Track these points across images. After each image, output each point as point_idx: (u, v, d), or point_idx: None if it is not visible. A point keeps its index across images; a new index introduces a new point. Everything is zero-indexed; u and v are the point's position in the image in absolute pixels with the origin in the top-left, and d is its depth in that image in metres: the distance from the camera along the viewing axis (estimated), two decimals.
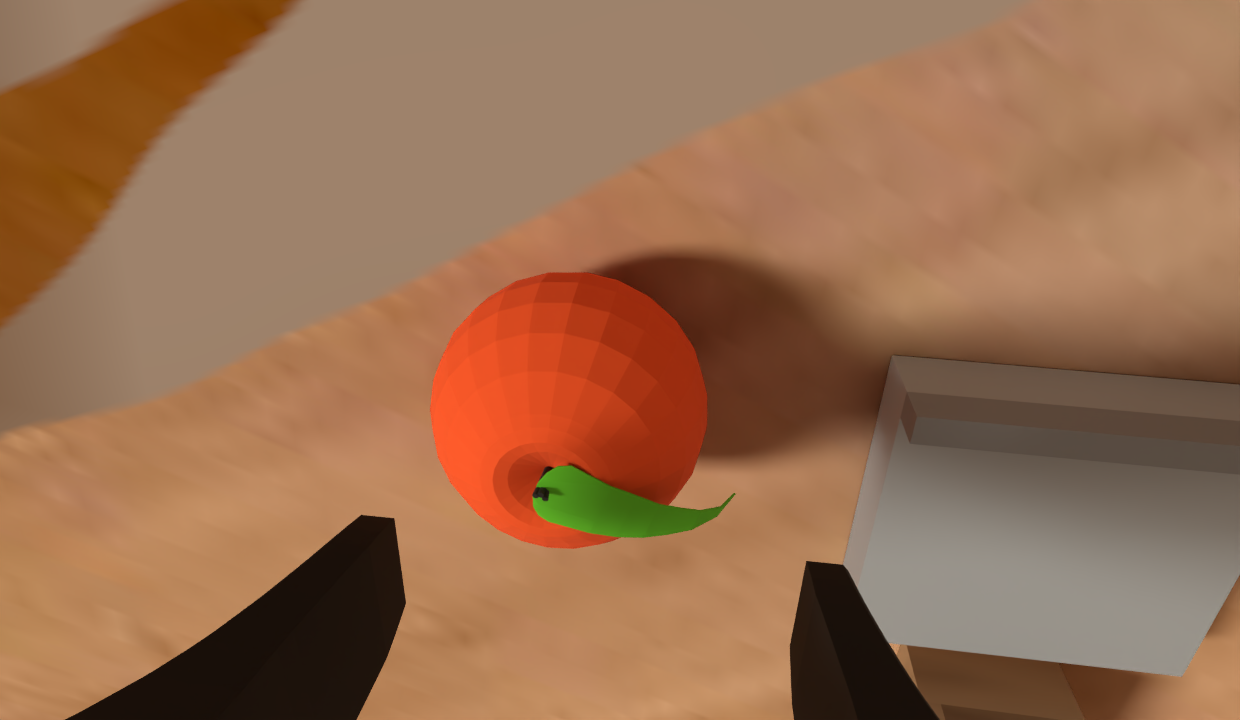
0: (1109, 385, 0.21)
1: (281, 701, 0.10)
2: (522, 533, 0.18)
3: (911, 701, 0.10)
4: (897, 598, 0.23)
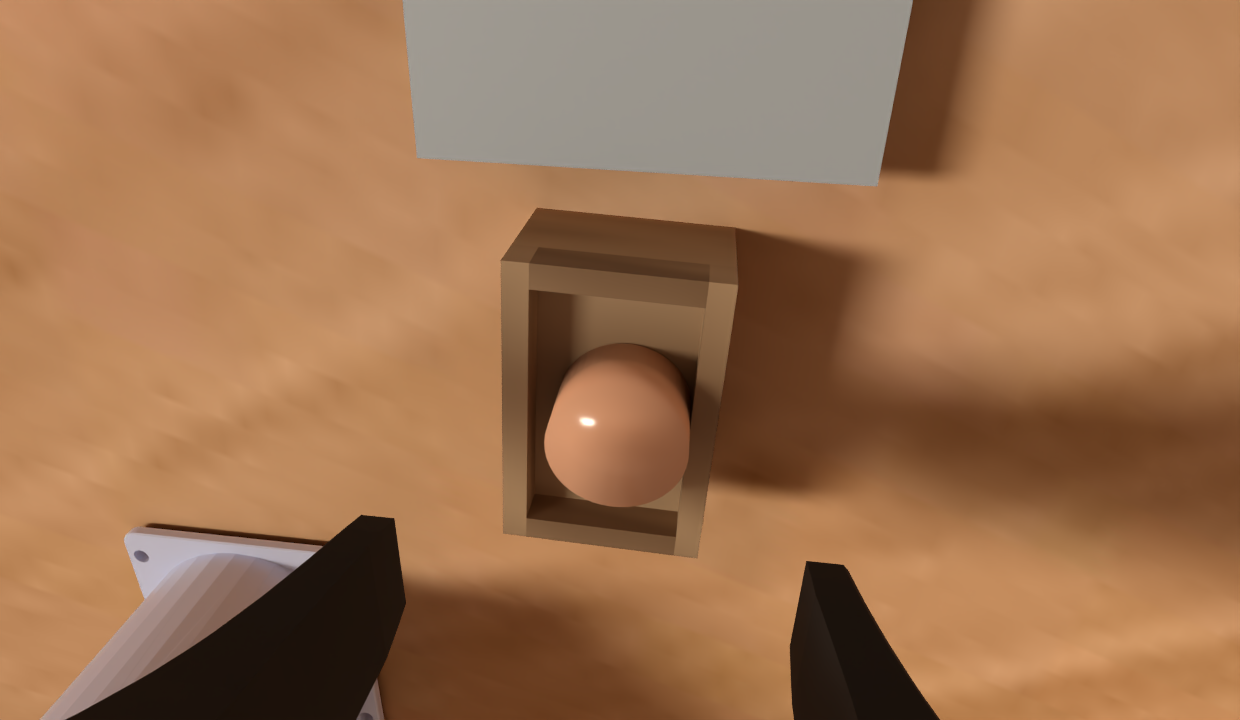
0: None
1: (281, 701, 0.10)
2: None
3: (911, 701, 0.10)
4: (464, 70, 0.16)
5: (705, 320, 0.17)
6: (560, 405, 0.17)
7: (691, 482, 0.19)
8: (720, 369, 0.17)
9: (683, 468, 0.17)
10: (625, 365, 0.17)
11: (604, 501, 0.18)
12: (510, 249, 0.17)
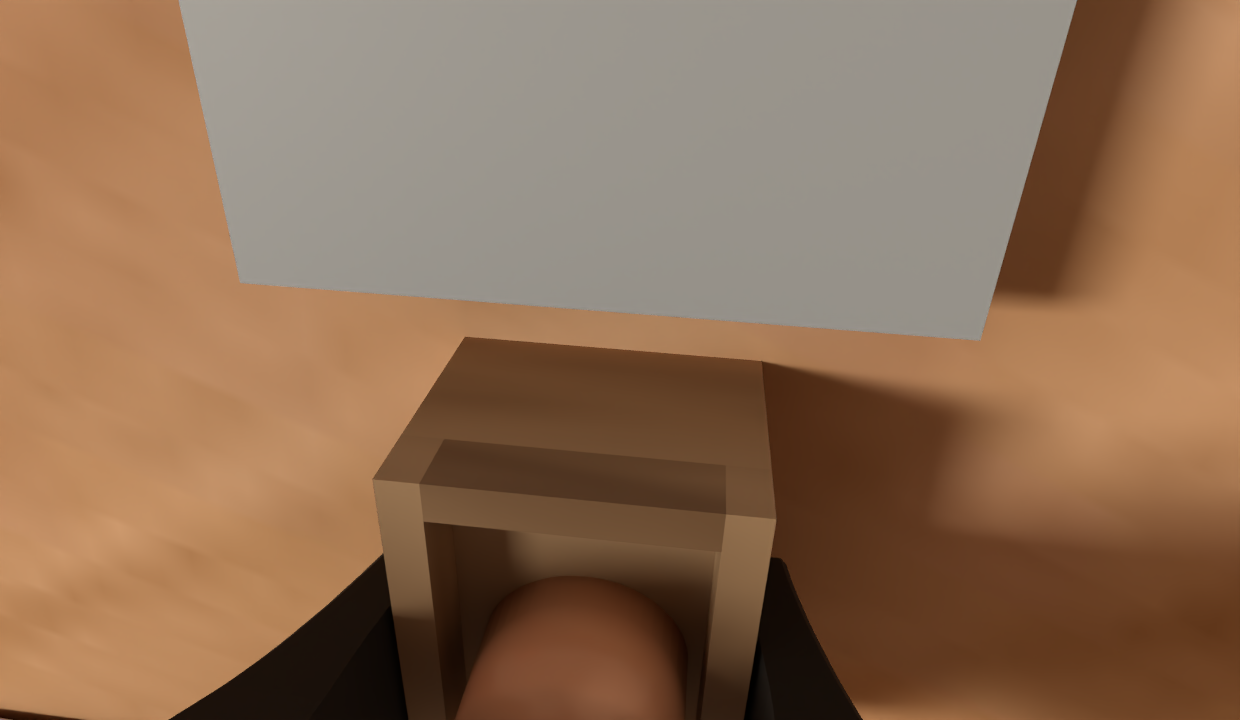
0: None
1: (354, 710, 0.10)
2: None
3: (829, 691, 0.10)
4: (300, 151, 0.10)
5: (721, 569, 0.10)
6: (469, 705, 0.10)
7: None
8: (748, 638, 0.10)
9: None
10: (578, 629, 0.11)
11: None
12: (395, 448, 0.10)
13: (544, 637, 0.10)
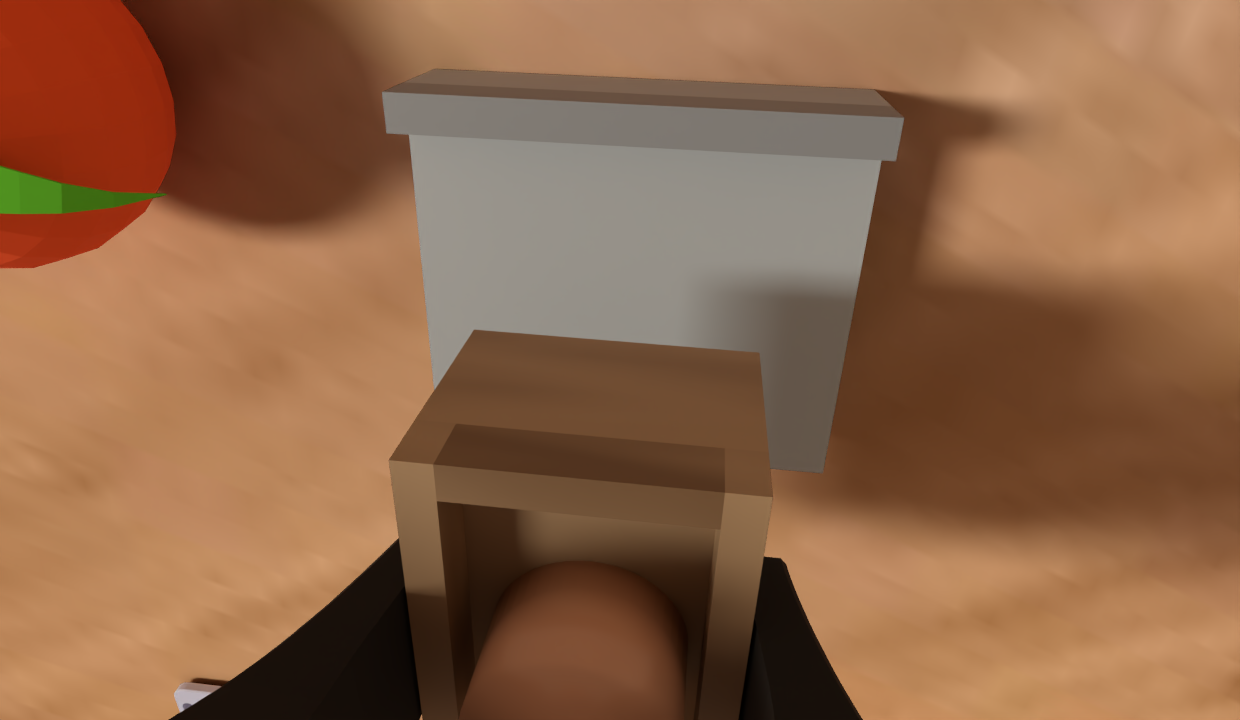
0: (669, 85, 0.17)
1: (354, 710, 0.10)
2: None
3: (829, 691, 0.10)
4: None
5: (720, 546, 0.10)
6: (479, 681, 0.11)
7: None
8: (746, 613, 0.11)
9: None
10: (583, 609, 0.11)
11: None
12: (410, 432, 0.11)
13: (550, 617, 0.11)
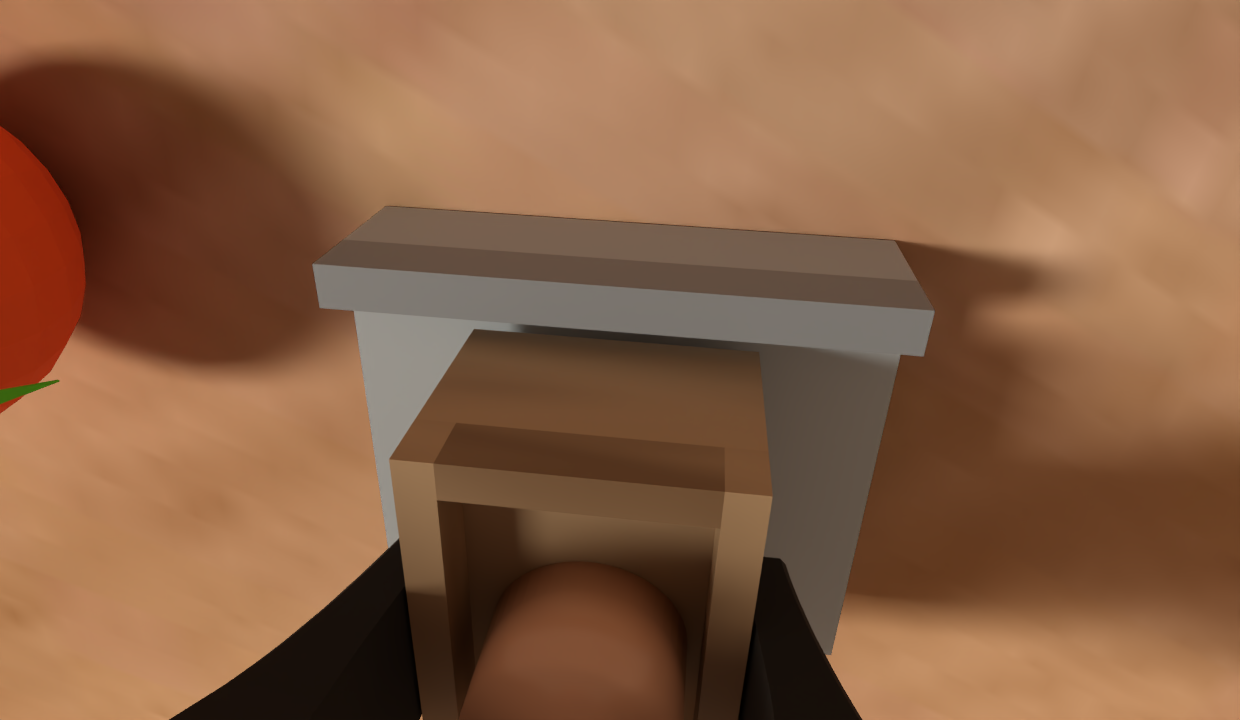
0: (656, 236, 0.15)
1: (354, 710, 0.10)
2: None
3: (828, 691, 0.10)
4: None
5: (720, 545, 0.10)
6: (479, 683, 0.11)
7: None
8: (746, 612, 0.11)
9: None
10: (582, 612, 0.11)
11: None
12: (410, 431, 0.11)
13: (550, 619, 0.11)
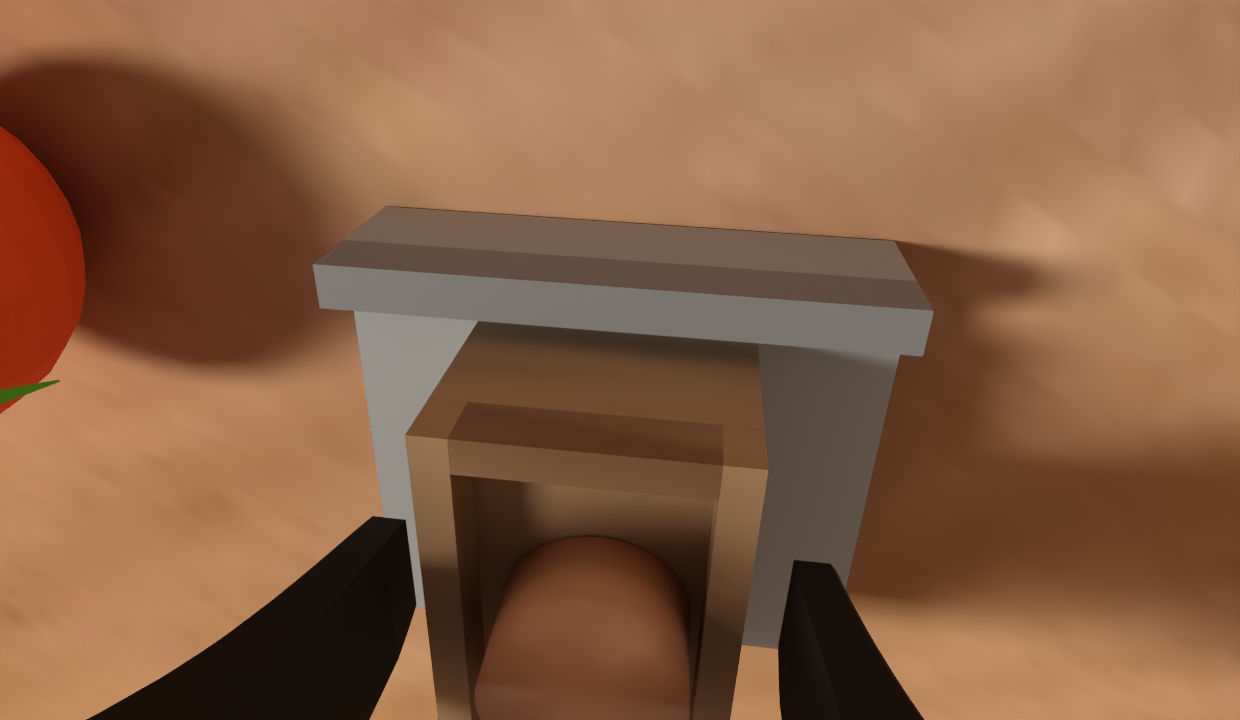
0: (656, 237, 0.15)
1: (296, 703, 0.10)
2: None
3: (894, 699, 0.10)
4: None
5: (718, 517, 0.11)
6: (496, 652, 0.11)
7: None
8: (743, 581, 0.11)
9: None
10: (594, 583, 0.12)
11: None
12: (424, 409, 0.11)
13: (563, 591, 0.12)
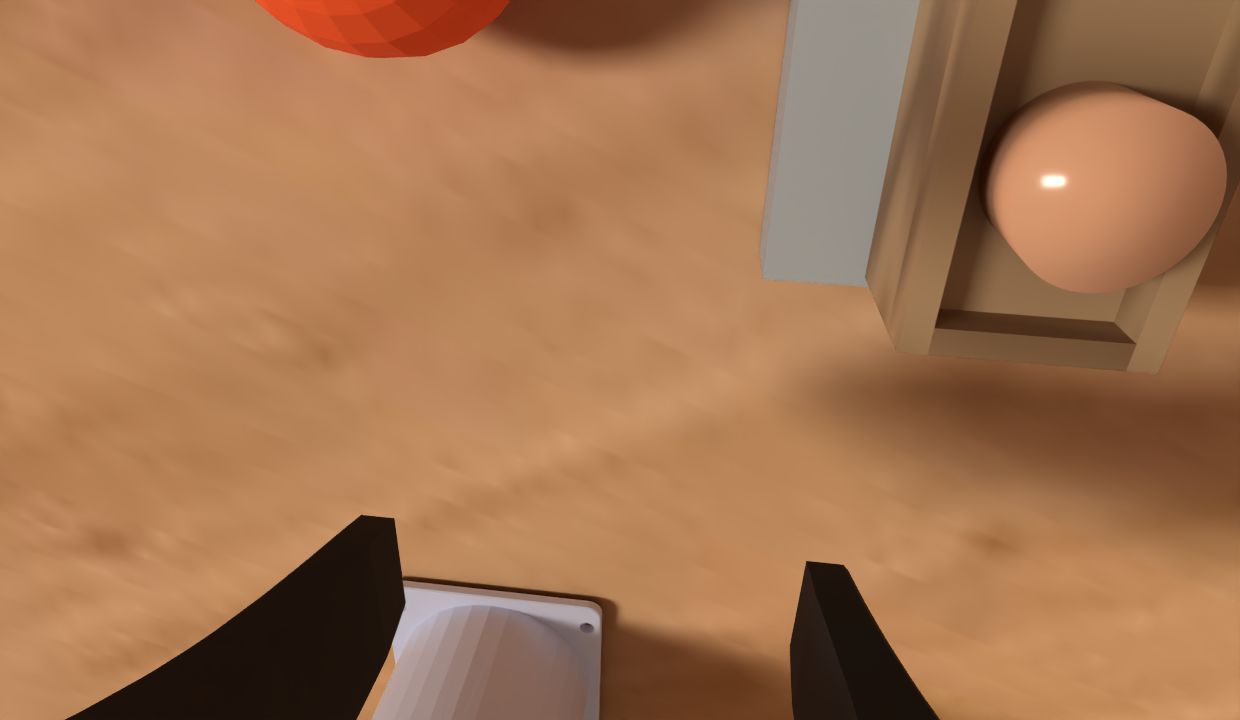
0: None
1: (281, 701, 0.10)
2: None
3: (911, 701, 0.10)
4: (823, 208, 0.18)
5: None
6: (1064, 130, 0.12)
7: (1181, 260, 0.14)
8: None
9: (1199, 238, 0.13)
10: (1137, 94, 0.13)
11: (1064, 284, 0.14)
12: None
13: (1113, 95, 0.13)
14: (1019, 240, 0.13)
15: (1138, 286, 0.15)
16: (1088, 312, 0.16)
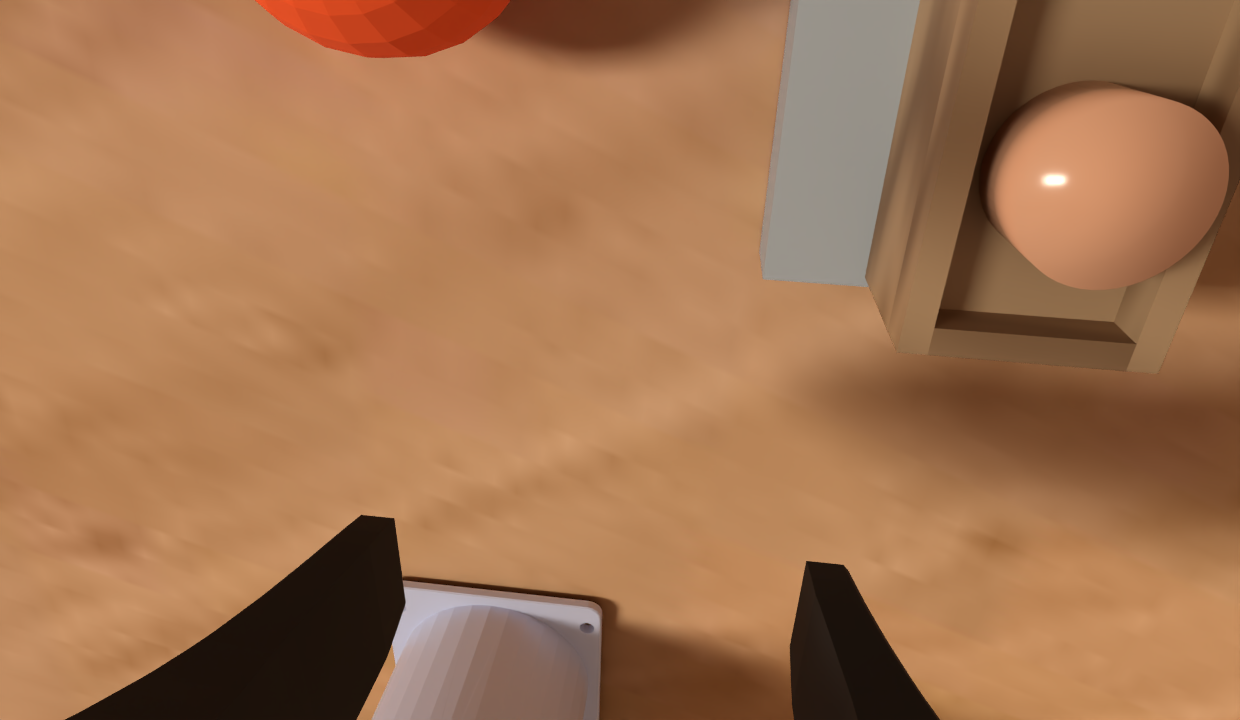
0: None
1: (281, 701, 0.10)
2: None
3: (911, 701, 0.10)
4: (823, 208, 0.18)
5: None
6: (1074, 119, 0.12)
7: (1181, 260, 0.14)
8: None
9: (1197, 240, 0.13)
10: (1145, 92, 0.13)
11: (1063, 278, 0.13)
12: None
13: (1122, 90, 0.13)
14: (1021, 229, 0.13)
15: (1138, 286, 0.15)
16: (1088, 312, 0.16)
